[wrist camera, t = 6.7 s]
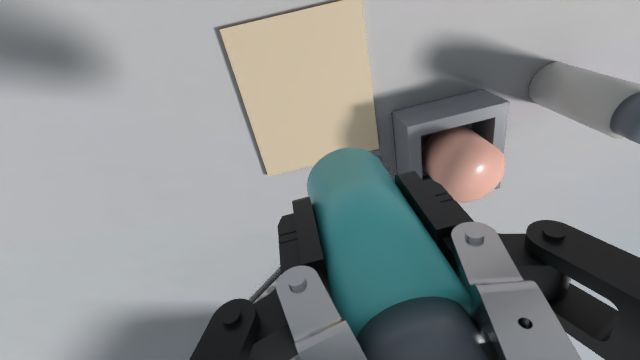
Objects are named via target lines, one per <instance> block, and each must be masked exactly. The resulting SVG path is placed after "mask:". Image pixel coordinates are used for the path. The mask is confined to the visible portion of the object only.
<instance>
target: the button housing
mask: <svg viewBox="0 0 640 360" xmlns="http://www.w3.org/2000/svg"><path fill="white" fill-rule="evenodd" d="M508 109H509V101H507V100H505V99H503V98H501V97H499V96H497V95H494V94H492V93H490V92H488V91H486V90H484V89H481V90H477V91H473V92H469V93H465V94H461V95H457V96H453V97H449V98H445V99H441V100H437V101H433V102H429V103H424V104H420V105H416V106H412V107H408V108H404V109H400V110H396V111H392V119H393V131H394V143H395V154H396V166H397V174H400V173H404V172H408V171H412V170H414V171H415V172H416V173H417V174H418V175H419V176H420V178H421V179H422V180H427V179H431V177H430V176H429V175H428V174H427V173H426V172H425V170H424V169H423V167H422V158H421V151H422V148H423V146H424V144H425V142H426V141H427V139H428V138H429V137H430V136H431V135H432V134H433V133H434V132H438V131H442V130H446V129H450V128H454V127H458V126H462V125H464V126H466V127H468V128H470V129H471V130H472V131H474V132H475V133H477V134H478V135H480V136H481V137H482V138H484V139H485V140H487V141H488V142H489V143H491V144H492V145H494V146H495V147H496V148H498V149H499V150H500V151H501V152H502V153H503V154H504V145H505V136H506V127H507V118H508ZM431 180H432V179H431ZM497 188H500V182H499V184H498V185H497V186H496V187H495V188H494V189H497Z"/></svg>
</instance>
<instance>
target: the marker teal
mask: <svg viewBox="0 0 640 360" xmlns="http://www.w3.org/2000/svg"><path fill="white" fill-rule="evenodd" d="M307 191H308V196H310V200H311V203H312V208H313V212H314V216H315V221H316V225H317V229H318V234H319V238H320V242H321V247H322V251H323V256H324V260H325V264H326V269H327V273H328V275H327V281H328V286H329V291H330V295H331V300H332V302H333V304H334V306H335V307H336V309H337V311H338V313H339V315H340V317H341V318H342V319H345V320H346V322H347V323H348V325H349V327H350V329H351V330H352V332H353V334H354V336H355V338H356V340H357V342H358V343H359V345H360V347H361V349H362V351H363V353H364V354H365V356H366V358H367V360H489V359H488V358H487V356H486V355H485V353H484V351H483V350H482V348H481V346H480V345H479V344H481V343H485V341H484V339H483V338H482V336H481V335H480V333H479V331H478V330H477V328H476V326H475V325H474V323H473V322H472V320H471V318H470V317H471V297H470V295H469V293H468V292H467V290H466V288H465V287H464V285H463V284H462V282H461V281H460V279H459V278H458V276H457V275H456V273H455V272H454V270H453V269H452V267H451V266H450V264H449V263H448V261H447V260H446V258H445V257H444V255H443V254H442V252H441V251H440V249H439V248H438V246H437V245H436V243H435V242H434V240H433V239H432V237H431V236H430V234H429V233H428V231H427V230H426V228H425V227H424V225H423V224H422V222H421V221H420V219H419V218H418V216H417V215H416V213H415V212H414V210H413V209H412V207H411V206H410V204H409V203H408V201H407V200H406V198H405V197H404V195H403V194H402V192H401V191H400V189H399V188H398V186H397V185H396V183H395V182H394V180H393V179H392V177H391V176H390V174H389V173H388V171H387V170H386V168H385V167H384V165H383V164H382V162H381V161H380V160H379V158H378V157H376V156H375V155H374V154H373V153H371V152H369V151H367V150H365V149H361V148H354V147H349V148H342V149H338V150H335V151H333V152H330V153H329V154H327V155H325V156H324V157H323V158H321V159H320V160H319V161H318V162H317V163H316V164H315V166H314V167H313V169H312V170H311V172H310V174H309V177H308V182H307Z"/></svg>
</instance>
